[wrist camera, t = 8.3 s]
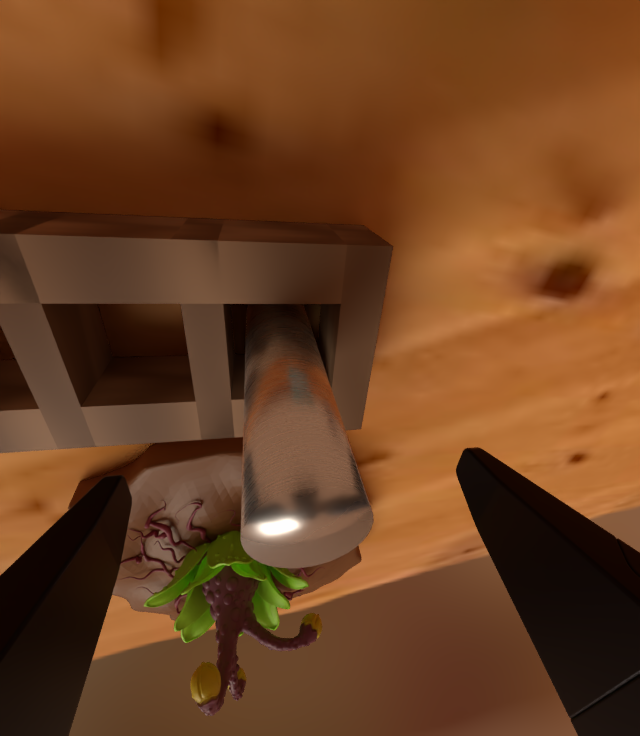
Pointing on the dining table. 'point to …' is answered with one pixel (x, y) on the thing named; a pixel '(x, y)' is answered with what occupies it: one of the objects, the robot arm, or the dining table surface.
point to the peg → (295, 449)
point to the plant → (206, 559)
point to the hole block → (199, 311)
